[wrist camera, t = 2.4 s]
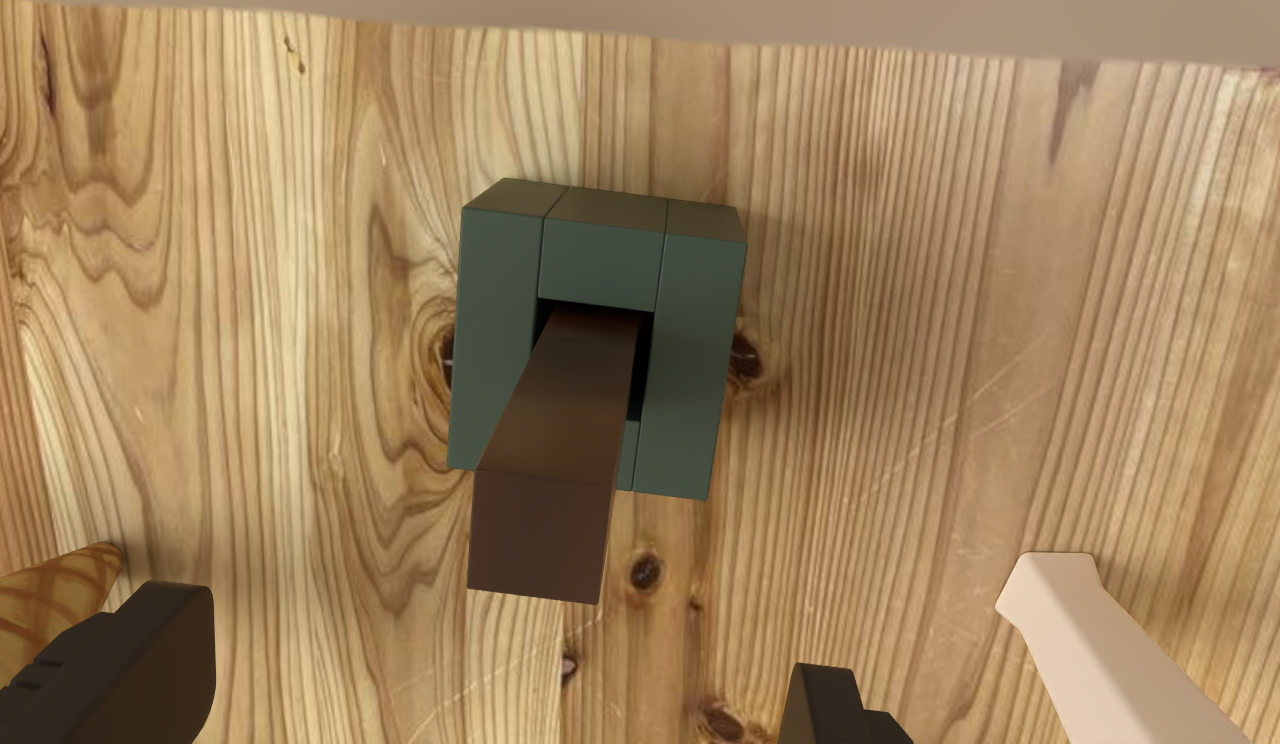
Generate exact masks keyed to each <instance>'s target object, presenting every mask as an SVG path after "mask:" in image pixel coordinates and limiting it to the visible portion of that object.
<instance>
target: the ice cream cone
mask: <svg viewBox="0 0 1280 744" xmlns="http://www.w3.org/2000/svg"><path fill="white" fill-rule="evenodd" d="M122 565H123V556H122V554H121V553H120V551H119V550H118V549H117V548H115V547H114V546H112V545H110V544H108V543H104V542H98V543H95V544H92V545H89V546H86V547H84V548H81V549H78V550H75V551H72V552H70V553H67V554H64V555H61V556H58V557H56V558H53V559H50V560H47V561H44V562H42V563H39V564H36V565H33V566H30V567H28V568H25V569H22V570H19V571H16V572H14V573H11V574H9V575H6V576H3V577H1V578H0V690H1V689H2V688H3V687H4V686H9V685H10V682H11V679H12V678H13V677H15V676H16V675H17V674H18V673H19V672H20V671H21V670H22V669H23V668H24V667H25V666H26V665H27V664H32V663H33V659H34V658H35V657H36V656H37V655H38V654H39V653H40V652H41V651H42V650H43V649H44V648H45V647H46V646H47V645H48V644H49V643H50V642H52V641H53V640H54V639H55V638H56V637H57V636H58V635H59V634H60V633H61V632H63V631H65V630H67V629H69V628H70V627H72V626H74V625H76V624H78V623H80V622H82V621H84V620H86V619H88V618H89V617H91V616H93V615H95V614H97V613H99V612H100V611H101V609H102V607H103V605H104V603H105V601H106V599H107V597H108V595H109V593H110V591H111V588H112V586H113V584H114V582H115V580H116V578H117V576H118V574H119V572H120V570H121V567H122Z"/></svg>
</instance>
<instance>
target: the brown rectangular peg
mask: <svg viewBox="0 0 1280 744" xmlns="http://www.w3.org/2000/svg"><path fill="white" fill-rule="evenodd" d="M641 313H642V311H640V310H632V309H624V308H616V307H608V306H600V305H592V304H585V303H577V302H569V301H561V300H558V301H557V304H556V306H555V308H554V310H553V312H552V314H551V316H550V318H549V320H548V322H547V324H546V326H545V328H544V330H543V332H542V334H541V336H540V338H539V340H538V342H537V344H536V346H535V348H534V350H533V352H532V354H531V356H530V358H529V360H528V362H527V364H526V366H525V368H524V370H523V372H522V375H521V377H520V379H519V381H518V383H517V385H516V387H515V389H514V391H513V393H512V395H511V397H510V399H509V401H508V403H507V405H506V407H505V409H504V411H503V413H502V415H501V417H500V419H499V421H498V423H497V425H496V427H495V429H494V431H493V433H492V435H491V437H490V439H489V441H488V444H487V446H486V448H485V450H484V452H483V454H482V456H481V458H480V460H479V462H478V464H477V466H476V468H475V470H474V482H473V497H472V511H471V526H470V541H469V555H468V570H467V584H466V586H467V588H468V589H474V590H482V591H490V592H498V593H506V594H513V595H521V596H529V597H537V598H545V599H553V600H560V601H568V602H576V603H584V604H592V605H597V604H598V603H599V597H600V590H601V583H602V577H603V570H604V563H605V557H606V550H607V544H608V537H609V530H610V524H611V517H612V511H613V504H614V497H615V491H616V484H617V477H618V471H619V464H620V458H621V451H622V444H623V438H624V431H625V424H626V418H627V411H628V405H629V398H630V391H631V385H632V378H633V371H634V365H635V358H636V352H637V345H638V337H639V329H640V321H641Z"/></svg>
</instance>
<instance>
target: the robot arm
mask: <svg viewBox="0 0 1280 744" xmlns="http://www.w3.org/2000/svg"><path fill="white" fill-rule="evenodd" d="M215 688H216V660H215V629H214V601H213V595H212V592H211V590H210V589H209V588H208V587H207V586H199V585H192V584H184V583H176V582H168V581H160V580H149V581H147V582H145V583H144V584H143V585H142V586H141V587H140V588H139V589H138V590H137V591H136V592H135V593H134V594H133V595H132V596H131V597H130V598H129V599H128V600H127V601H126V602H125V603H124V604H123V605H122V606H121V607H120V608H119V609H118V610H117V611H116V612H115V613H108V612H99V613H97V614H95V615H93V616H91V617H89V618H88V619H86V620H84V621H82V622H80V623H78V624H76V625H74V626H72V627H70V628H69V629H67V630H65V631H63V632H61V633H60V634H59V635H58V636H57V637H56V638H55V639H54V640H53V641H52V642H50V643H49V644H48V645H47V646H46V647H45V648H44V649H43V650H42V651H41V652H40V653H39V654H38V655H37V656H36V657H35V658H34V659H33V663H32V664H27V665H26V666H25V667H24V668H23V669H22V670H21V671H20V672H19V673H18V674H17V675H16V676H15V677H13V678H12V679H11V682H10V685H9V686H4V687H3V688H2V689H1V690H0V744H192V742H193V741H194V740H195V738H196V737H197V735H198V734H199V732H200V731H201V729H202V728H203V726H204V724H205V722H206V720H207V718H208V715H209V713H210V710H211V707H212V703H213V699H214V695H215ZM777 744H914V743H913V741H912V739H911V738H910V737H909V736H908V735H907V734H906V732H905V731H904V730H903V729H902V728H901V727H900V725H899V724H898V723H897V722H896V721H895V719H894V718H893V717H892V716H891V715H890V714H889V712H881V711H873V710H865V709H863V705H862V702H861V698H860V694H859V691H858V687H857V684H856V680H855V677H854V674H853V672H852V670H851V669H846V668H838V667H830V666H822V665H814V664H806V663H798V662H797V663H796V664H795V666H794V668H793V671H792V675H791V680H790V685H789V689H788V694H787V699H786V704H785V709H784V714H783V719H782V724H781V728H780V733H779V738H778V743H777Z"/></svg>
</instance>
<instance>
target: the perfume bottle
mask: <svg viewBox="0 0 1280 744" xmlns="http://www.w3.org/2000/svg"><path fill="white" fill-rule="evenodd" d="M995 608H996V610H997V611H998V612H999V613H1000V614H1001V615H1002V616H1003V617H1004V618H1006V619H1007V620H1008V621H1009V622H1010V623H1011V624H1013V625H1014V626H1015V627H1016V628H1017V629H1018V630H1019V631H1021V633H1022V635H1023V637H1024V639H1025V642H1026V644H1027V646H1028V648H1029V651H1030V653H1031V655H1032V657H1033V660H1034V662H1035V664H1036V666H1037V669H1038V671H1039V673H1040V676H1041V678H1042V680H1043V682H1044V685H1045V687H1046V689H1047V691H1048V694H1049V696H1050V698H1051V700H1052V703H1053V705H1054V707H1055V709H1056V712H1057V714H1058V716H1059V718H1060V721H1061V723H1062V725H1063V727H1064V730H1065V732H1066V734H1067V736H1068V739H1069V741H1070V743H1071V744H1254V743H1253V742H1252V741H1251V740H1250V739H1249V738H1248V737H1247V736H1246V735H1245V734H1244V733H1243V732H1242V731H1241V730H1240V729H1239V728H1238V727H1237V726H1236V725H1235V724H1234V723H1233V722H1232V721H1231V720H1230V719H1229V718H1228V716H1227V715H1226V714H1225V713H1224V712H1223V711H1222V710H1221V709H1220V708H1219V707H1218V706H1217V705H1216V704H1215V703H1214V702H1213V701H1212V700H1211V699H1210V698H1209V697H1208V696H1207V695H1206V694H1205V693H1204V692H1203V691H1202V690H1201V689H1200V688H1199V686H1198V685H1197V684H1196V683H1195V682H1194V681H1193V680H1192V679H1191V678H1190V677H1189V676H1188V675H1187V674H1186V673H1185V672H1184V671H1183V670H1182V669H1181V668H1180V667H1179V666H1178V665H1177V664H1176V663H1175V662H1174V661H1173V660H1172V659H1171V658H1170V657H1169V655H1168V654H1167V653H1166V652H1165V651H1164V650H1163V649H1162V648H1161V647H1160V646H1159V645H1158V644H1157V643H1156V642H1155V641H1154V640H1153V639H1152V638H1151V637H1150V636H1149V635H1148V634H1147V633H1146V632H1145V631H1144V630H1143V629H1142V628H1141V627H1140V625H1139V624H1138V623H1137V622H1136V621H1135V620H1134V619H1133V618H1132V617H1131V616H1130V615H1129V614H1128V613H1127V612H1126V611H1125V610H1124V609H1123V608H1122V607H1121V606H1120V605H1119V604H1118V603H1117V602H1116V601H1115V600H1114V599H1113V598H1112V597H1111V595H1110V594H1109V593H1108V592H1107V591H1106V590H1105V589H1104V588H1103V587H1102V584H1101V581H1100V577H1099V574H1098V571H1097V568H1096V565H1095V562H1094V559H1093V557H1092V555H1090V554H1087V553H1041V552H1028V553H1024V554H1022V555H1021V556H1020V558H1019V559H1018V561H1017V563H1016V565H1015V567H1014V569H1013V571H1012V573H1011V575H1010V577H1009V579H1008V581H1007V583H1006V585H1005V587H1004V588H1003V590H1002V592H1001V594H1000V596H999V598H998V600H997V602H996V605H995Z"/></svg>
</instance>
